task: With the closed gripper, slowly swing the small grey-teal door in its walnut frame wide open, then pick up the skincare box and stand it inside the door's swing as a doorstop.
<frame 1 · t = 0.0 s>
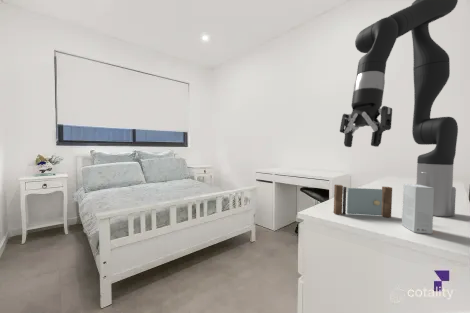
hand: (360, 146, 61), 22 cm above the table, tool pointing down, fingers open, 8 cm apart
skincare box: (416, 230, 58), on the table
door: (364, 201, 70), point 5 cm above the table, hinge at 0.0°
door frame: (344, 214, 71), on the table
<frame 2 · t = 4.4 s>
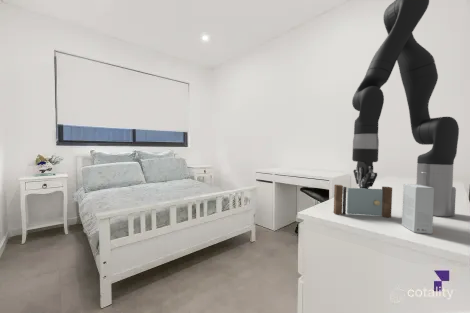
hand: (363, 198, 73), 5 cm above the table, tool pointing down, fingers closed
door: (364, 201, 70), point 5 cm above the table, hinge at 0.8°, touching gripper
everything else where it was.
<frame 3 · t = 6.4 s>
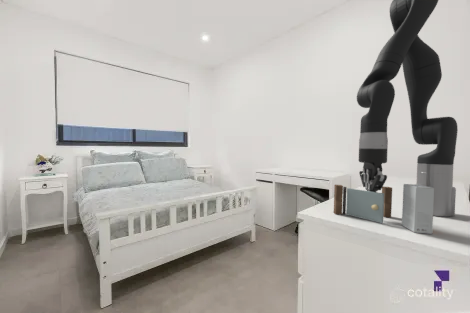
hand: (371, 202, 67), 5 cm above the table, tool pointing down, fingers closed
door: (363, 204, 66), point 5 cm above the table, hinge at 46.5°, touching gripper
everything else where it was.
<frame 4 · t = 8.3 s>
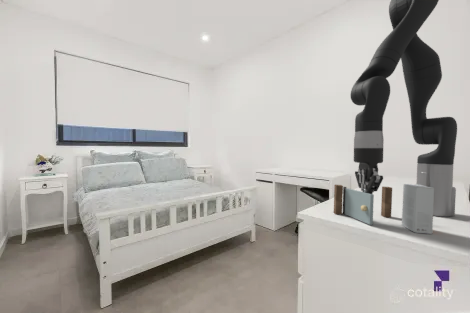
hand: (367, 204, 64), 5 cm above the table, tool pointing down, fingers closed
door: (356, 205, 65), point 5 cm above the table, hinge at 71.8°, touching gripper
everything else where it was.
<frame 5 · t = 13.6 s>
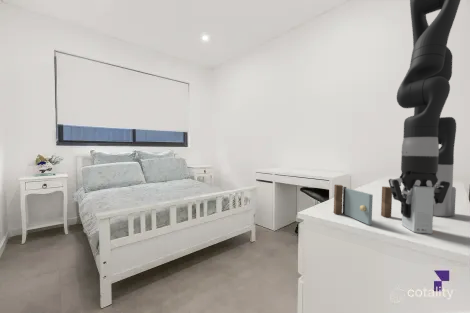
hand: (416, 217, 58), 3 cm above the table, tool pointing down, fingers closed on skincare box, 4 cm apart
skincare box: (416, 230, 58), on the table, touching gripper
door: (356, 205, 65), point 5 cm above the table, hinge at 73.6°
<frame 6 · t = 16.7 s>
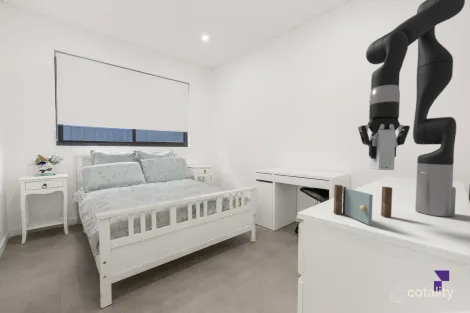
hand: (382, 158, 66), 19 cm above the table, tool pointing down, fingers closed on skincare box, 4 cm apart
skincare box: (381, 170, 66), point 15 cm above the table, touching gripper
everything else where it was.
when the fingers open (5 cm above the table, at t = 19.6 s): skincare box drops 1 cm, on the table.
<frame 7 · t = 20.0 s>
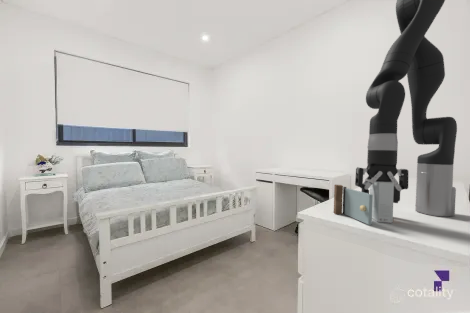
hand: (380, 201, 66), 6 cm above the table, tool pointing down, fingers open, 8 cm apart
skincare box: (380, 220, 66), on the table
everything else where it was.
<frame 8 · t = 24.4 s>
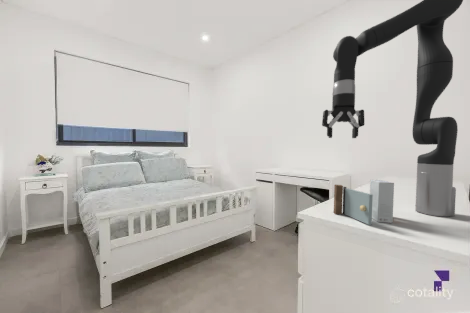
hand: (342, 137, 80), 26 cm above the table, tool pointing down, fingers open, 8 cm apart
nothing on the table moved.
at the end: door at +74° (first picture: +0°); skincare box 0.2 cm from the target spot, on the table; skincare box tilted 0° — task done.
